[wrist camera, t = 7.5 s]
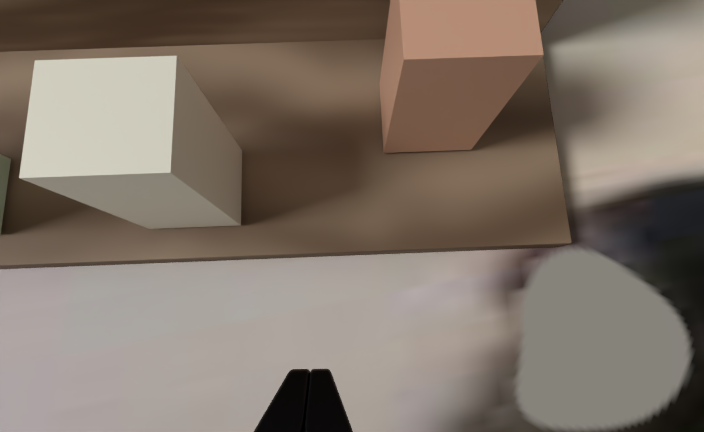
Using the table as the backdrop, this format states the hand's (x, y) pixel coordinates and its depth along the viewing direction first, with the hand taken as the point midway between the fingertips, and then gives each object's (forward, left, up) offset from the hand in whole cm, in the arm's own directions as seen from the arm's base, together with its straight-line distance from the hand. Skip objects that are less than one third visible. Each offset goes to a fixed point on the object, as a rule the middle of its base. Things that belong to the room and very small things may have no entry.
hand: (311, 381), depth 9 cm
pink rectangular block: (+4, -12, -11) cm, 17 cm away
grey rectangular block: (+10, -1, -11) cm, 15 cm away
